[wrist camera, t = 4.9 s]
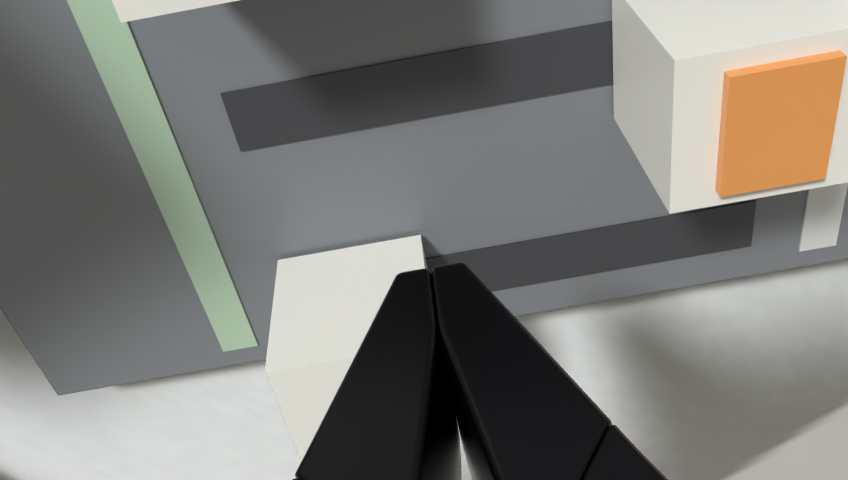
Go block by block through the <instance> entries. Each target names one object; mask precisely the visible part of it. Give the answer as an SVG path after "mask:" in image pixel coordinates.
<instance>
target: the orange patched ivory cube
mask: <svg viewBox="0 0 848 480" xmlns="http://www.w3.org/2000/svg"><path fill="white" fill-rule="evenodd" d="M612 36H613V93H614V119H615V121H616V123H617V124H618V126H619V128H620V130H621V131H622V133H623V135H624V136H625V138H626V140H627V142H628V143H629V145H630V147H631V148H632V150H633V152H634V154H635V155H636V157H637V159H638V161H639V162H640V164H641V166H642V167H643V169H644V171H645V173H646V174H647V176H648V178H649V179H650V181H651V183H652V185H653V186H654V188H655V190H656V192H657V193H658V195H659V197H660V198H661V200H662V202H663V204H664V205H665V207H666V209H667V210H668V212H669V214H671V213H677V212H682V211H688V210H694V209H699V208H705V207H711V206H716V205H722V204H728V203H733V202H739V201H745V200H750V199H756V198H762V197H767V196H773V195H779V194H785V193H790V192H796V191H802V190H807V189H813V188H819V187H824V186H830V185H836V184H841V183H847V182H848V0H612Z"/></svg>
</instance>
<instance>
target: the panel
mask: <svg viewBox="0 0 848 480" xmlns="http://www.w3.org/2000/svg"><path fill="white" fill-rule="evenodd" d="M416 235H421V239H422V244H423V249H424V254H425V259H426V264H427V268H428V269H429V270H430V271H431V274H432V269H433V268H434V267H436V266H440V265H446V264H452V263H457V262H463V263H465V264H466V265H467V266H468V267H469V268H470V269H471V270H472V271H473V272H474V273H475V274H476V275H477V276H478V277H479V279H480V280H481V281H482V282H483V283H484V284H485V285H486V286H487V287H488V288H489V289H490V290H491V292H492V293H493V294H494V295H495V296H496V297H497V298H498V299H499V300H500V301H501V302H502V303H503V305H504V306H505V307H506V308H507V309H508V310H509V311H510V312H511V313H512V314H513V315H514V316H520V315H525V314H531V313H537V312H543V311H548V310H554V309H560V308H566V307H572V306H577V305H583V304H589V303H595V302H600V301H606V300H612V299H618V298H624V297H629V296H635V295H641V294H647V293H652V292H658V291H664V290H670V289H676V288H681V287H687V286H693V285H699V284H704V283H710V282H716V281H722V280H728V279H733V278H739V277H745V276H751V275H756V274H762V273H768V272H774V271H780V270H785V269H791V268H797V267H803V266H808V265H814V264H820V263H826V262H832V261H837V260H843V259H848V182H847V183H841V184H836V185H830V186H824V187H819V188H813V189H807V190H802V191H796V192H790V193H785V194H779V195H773V196H767V197H762V198H756V199H750V200H745V201H739V202H733V203H728V204H722V205H716V206H711V207H705V208H699V209H694V210H688V211H682V212H677V213H671V214H669V212H668V210H667V209H666V207H665V205H664V204H663V202H662V200H661V198H660V197H659V195H658V193H657V192H656V190H655V188H654V186H653V185H652V183H651V181H650V179H649V178H648V176H647V174H646V173H645V171H644V169H643V167H642V166H641V164H640V162H639V161H638V159H637V157H636V155H635V154H634V152H633V150H632V148H631V147H630V145H629V143H628V142H627V140H626V138H625V136H624V135H623V133H622V131H621V130H620V128H619V126H618V124H617V123H616V121H615V119H614V93H613V36H612V0H239V1H234V2H228V3H223V4H218V5H213V6H207V7H202V8H197V9H191V10H186V11H181V12H176V13H170V14H165V15H160V16H154V17H149V18H144V19H139V20H133V21H128V22H123V23H121V22H120V19H119V17H118V14H117V12H116V9H115V7H114V5H113V2H112V0H0V308H1V310H2V311H3V313H4V314H5V316H6V317H7V319H8V320H9V322H10V323H11V325H12V326H13V328H14V329H15V331H16V332H17V334H18V335H19V337H20V338H21V340H22V341H23V343H24V345H25V346H26V348H27V349H28V351H29V352H30V354H31V355H32V357H33V358H34V360H35V361H36V363H37V364H38V366H39V367H40V369H41V370H42V372H43V373H44V375H45V377H46V378H47V380H48V381H49V383H50V384H51V386H52V387H53V389H54V390H55V392H56V393H57V395H63V394H69V393H75V392H80V391H86V390H92V389H98V388H104V387H109V386H115V385H121V384H127V383H132V382H138V381H144V380H150V379H156V378H161V377H167V376H173V375H179V374H184V373H190V372H196V371H202V370H208V369H213V368H219V367H225V366H231V365H236V364H242V363H248V362H254V361H260V360H265V359H266V356H267V348H268V339H269V331H270V323H271V314H272V306H273V297H274V289H275V280H276V272H277V263H278V260H281V259H286V258H292V257H298V256H303V255H309V254H315V253H320V252H326V251H332V250H337V249H343V248H348V247H354V246H360V245H365V244H371V243H377V242H382V241H388V240H394V239H399V238H405V237H410V236H416Z"/></svg>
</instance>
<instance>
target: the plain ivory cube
mask: <svg viewBox="0 0 848 480" xmlns="http://www.w3.org/2000/svg"><path fill="white" fill-rule="evenodd" d="M423 268H426V269H428V268H427V264H426V259H425V254H424V249H423V244H422V239H421V235H416V236H410V237H405V238H399V239H394V240H388V241H382V242H377V243H371V244H365V245H360V246H354V247H348V248H343V249H337V250H332V251H326V252H320V253H315V254H309V255H303V256H298V257H292V258H286V259H281V260H278V263H277V272H276V280H275V289H274V297H273V306H272V314H271V323H270V331H269V339H268V348H267V356H266V365H265V375H266V377H267V380H268V382H269V385H270V387H271V390H272V392H273V394H274V397H275V399H276V402H277V404H278V407H279V409H280V411H281V414H282V416H283V419H284V421H285V424H286V426H287V429H288V431H289V433H290V436H291V438H292V441H293V443H294V446H295V448H296V450H297V453H298V455H299V458H300V460H301V462H302V460H303V458H304V456H305V454H306V452H307V450H308V448H309V446H310V444H311V442H312V440H313V438H314V436H315V434H316V432H317V430H318V428H319V426H320V424H321V422H322V420H323V418H324V416H325V414H326V412H327V411H328V409H329V407H330V405H331V403H332V401H333V399H334V397H335V395H336V393H337V391H338V389H339V387H340V385H341V383H342V381H343V379H344V377H345V375H346V373H347V371H348V369H349V367H350V365H351V363H352V361H353V359H354V357H355V355H356V353H357V352H358V350H359V348H360V346H361V344H362V342H363V340H364V338H365V336H366V334H367V332H368V330H369V328H370V326H371V324H372V322H373V320H374V318H375V316H376V314H377V312H378V310H379V308H380V306H381V304H382V302H383V300H384V298H385V296H386V294H387V293H388V291H389V289H390V287H391V285H392V283H393V281H394V279H395V277H396V276H397V275H398V274H399V273H401V272H406V271H412V270H418V269H423Z"/></svg>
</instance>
